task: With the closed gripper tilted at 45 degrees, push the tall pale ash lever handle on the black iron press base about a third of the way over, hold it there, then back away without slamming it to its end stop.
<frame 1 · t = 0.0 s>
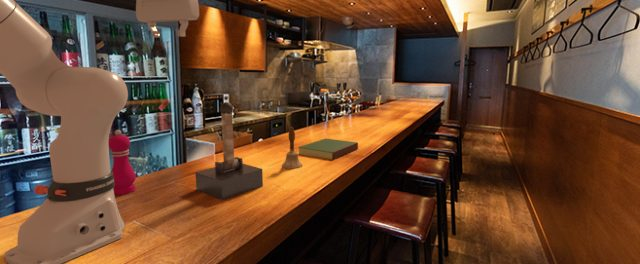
hand: (168, 36, 102), 48 cm above the bar counter, tool pointing down, fingers open, 8 cm apart
pepper mill: (124, 192, 109), on the bar counter
hardcover book: (329, 152, 164), on the bar counter
lever: (227, 136, 110), point 17 cm above the bar counter, hinge at 0.0°
press base: (230, 187, 113), on the bar counter
hand bell: (292, 166, 139), on the bar counter
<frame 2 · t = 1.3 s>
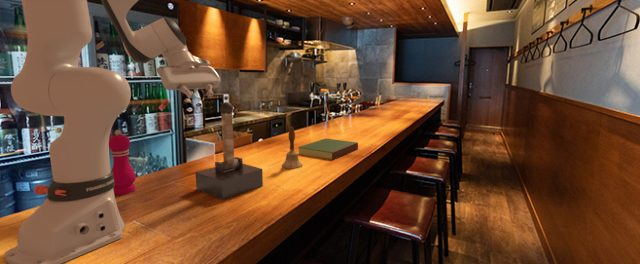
hand: (201, 96, 116), 30 cm above the bar counter, tool tilted 45°, fingers open, 6 cm apart
nothing on the bar counter moved.
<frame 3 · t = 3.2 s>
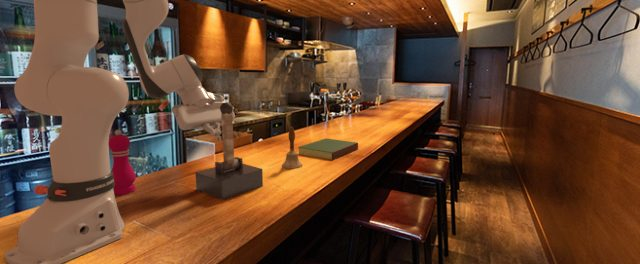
hand: (217, 134, 114), 17 cm above the bar counter, tool tilted 45°, fingers closed
nothing on the bar counter moved.
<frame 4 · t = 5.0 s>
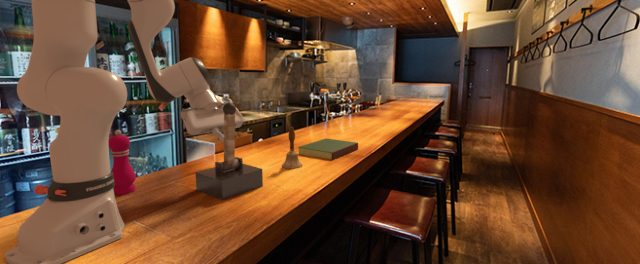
hand: (226, 139, 111), 16 cm above the bar counter, tool tilted 45°, fingers closed, pressing on lever
lever: (229, 136, 109), point 17 cm above the bar counter, hinge at 4.7°, touching gripper
everything else where it was.
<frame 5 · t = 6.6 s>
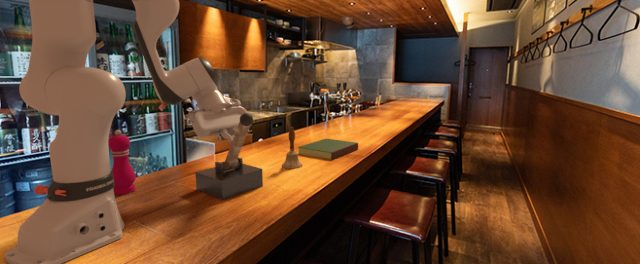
hand: (234, 141, 108), 16 cm above the bar counter, tool tilted 45°, fingers closed, pressing on lever
lever: (237, 142, 107), point 16 cm above the bar counter, hinge at 31.0°, touching gripper
everything else where it was.
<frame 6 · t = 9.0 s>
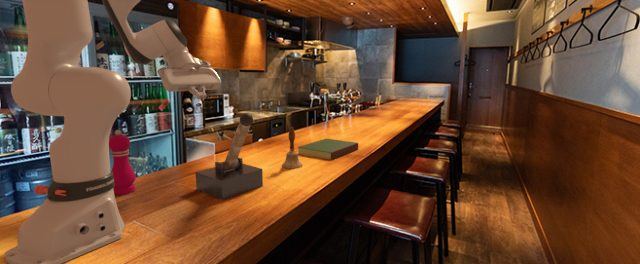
hand: (202, 97, 116), 29 cm above the bar counter, tool tilted 45°, fingers closed
lever: (237, 142, 107), point 16 cm above the bar counter, hinge at 31.1°
everything else where it was.
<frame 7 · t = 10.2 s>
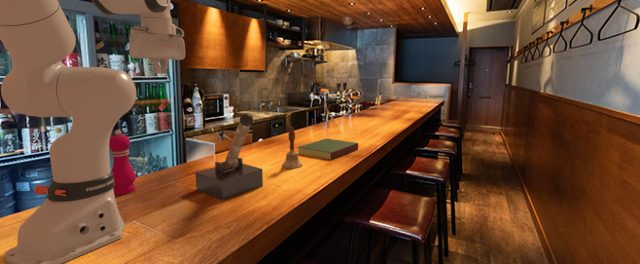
hand: (160, 73, 110), 37 cm above the bar counter, tool pointing down, fingers closed
nothing on the bar counter moved.
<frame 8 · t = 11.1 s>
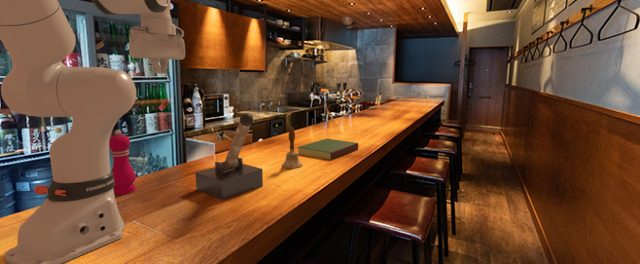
hand: (160, 73, 110), 37 cm above the bar counter, tool pointing down, fingers closed
nothing on the bar counter moved.
at the end: lever at +31° (first picture: +0°); pepper mill moved 0.2 cm from its start; hand bell moved 0.3 cm from its start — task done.
